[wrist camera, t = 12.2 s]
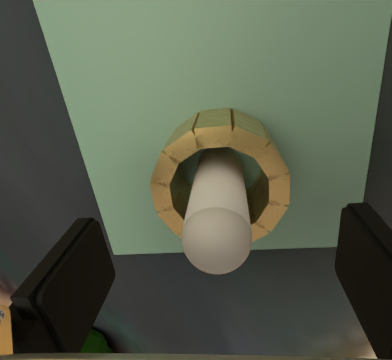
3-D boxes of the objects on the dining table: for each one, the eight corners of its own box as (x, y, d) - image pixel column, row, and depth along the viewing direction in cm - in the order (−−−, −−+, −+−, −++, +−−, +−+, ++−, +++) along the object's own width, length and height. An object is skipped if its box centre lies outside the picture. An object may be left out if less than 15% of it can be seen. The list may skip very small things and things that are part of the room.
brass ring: (157, 114, 17) (139, 133, 13) (276, 102, 16) (292, 119, 12) (174, 212, 20) (163, 250, 16) (276, 207, 19) (288, 246, 15)
